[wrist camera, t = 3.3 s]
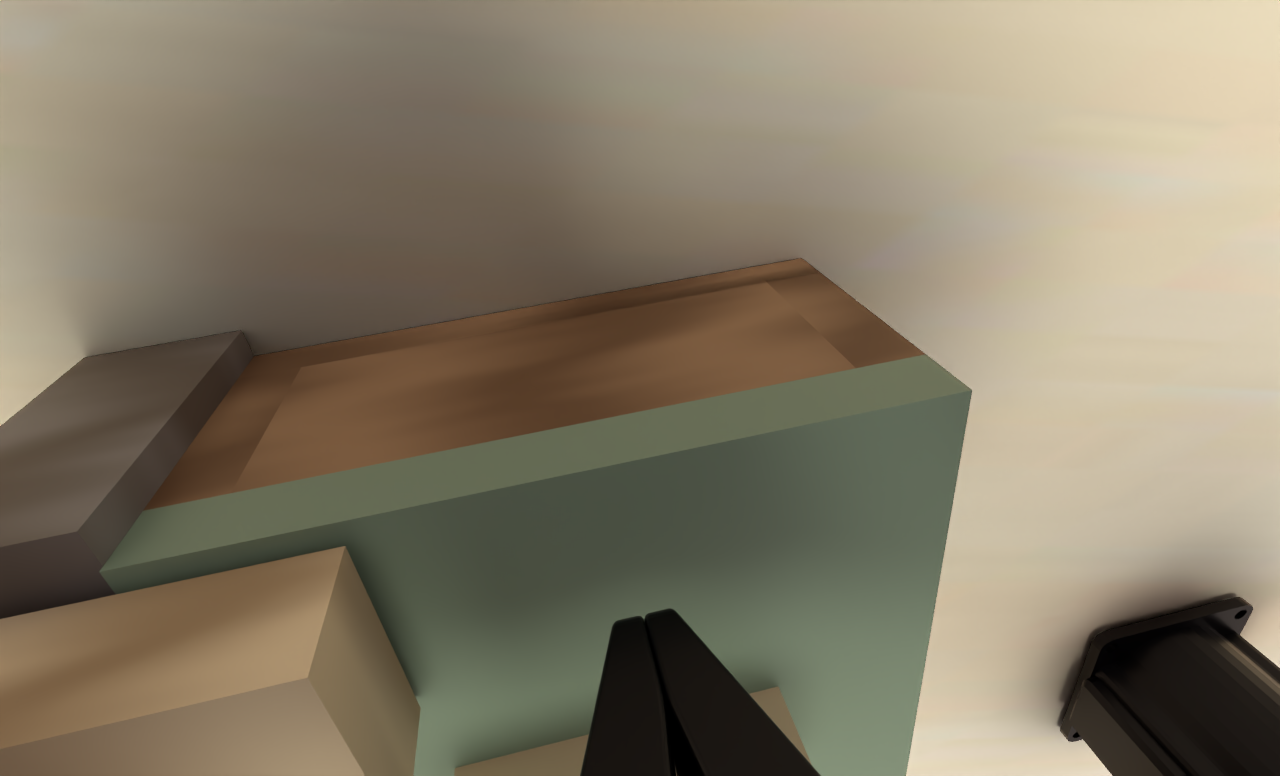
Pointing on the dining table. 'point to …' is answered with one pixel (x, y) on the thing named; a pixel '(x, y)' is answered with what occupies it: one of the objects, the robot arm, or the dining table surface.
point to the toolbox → (386, 403)
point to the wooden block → (210, 680)
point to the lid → (634, 561)
